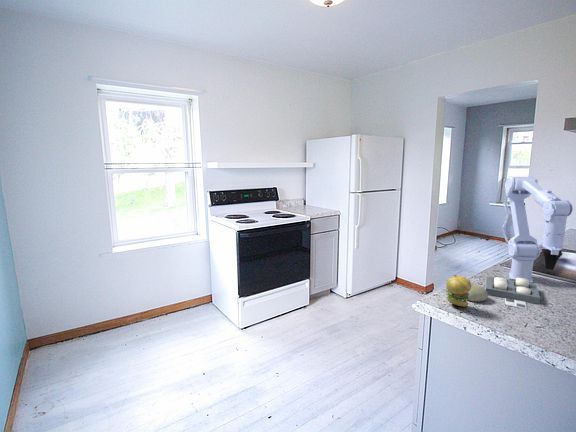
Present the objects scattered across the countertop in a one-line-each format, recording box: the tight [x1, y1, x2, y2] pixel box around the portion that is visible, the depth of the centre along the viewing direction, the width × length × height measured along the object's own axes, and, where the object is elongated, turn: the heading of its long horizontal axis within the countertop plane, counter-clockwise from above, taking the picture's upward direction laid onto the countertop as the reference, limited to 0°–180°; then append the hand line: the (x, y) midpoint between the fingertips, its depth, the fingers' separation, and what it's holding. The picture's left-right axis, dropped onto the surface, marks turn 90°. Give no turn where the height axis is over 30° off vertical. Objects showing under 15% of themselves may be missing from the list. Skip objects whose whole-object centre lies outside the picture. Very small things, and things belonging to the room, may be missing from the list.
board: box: [485, 276, 541, 305], centre depth 120 cm, size 15×16×2 cm
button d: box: [516, 286, 531, 295], centre depth 115 cm, size 4×4×3 cm
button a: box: [494, 276, 508, 282], centre depth 124 cm, size 4×4×3 cm
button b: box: [494, 280, 508, 291], centre depth 118 cm, size 4×4×3 cm
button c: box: [515, 278, 531, 288], centre depth 120 cm, size 4×4×3 cm
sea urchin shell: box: [467, 283, 489, 303], centre depth 115 cm, size 9×8×8 cm
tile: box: [504, 298, 528, 310], centre depth 110 cm, size 6×6×1 cm
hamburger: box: [446, 274, 472, 308], centre depth 107 cm, size 8×7×12 cm
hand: (549, 269), depth 116 cm, fingers closed
